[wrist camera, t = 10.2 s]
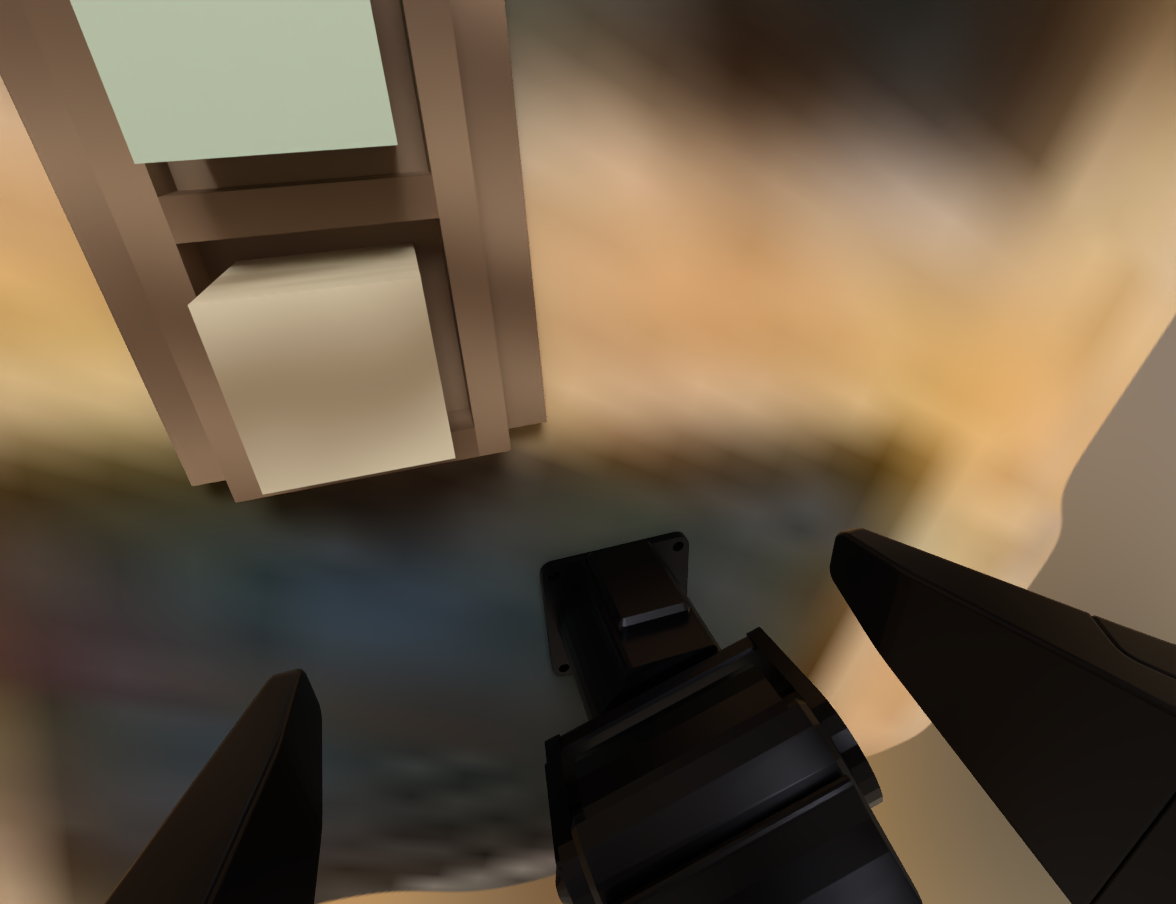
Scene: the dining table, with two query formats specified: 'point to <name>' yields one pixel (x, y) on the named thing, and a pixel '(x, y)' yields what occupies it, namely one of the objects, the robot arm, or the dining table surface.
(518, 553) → the dining table surface
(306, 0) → the sage block
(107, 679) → the dining table surface
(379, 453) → the maple block
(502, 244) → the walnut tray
